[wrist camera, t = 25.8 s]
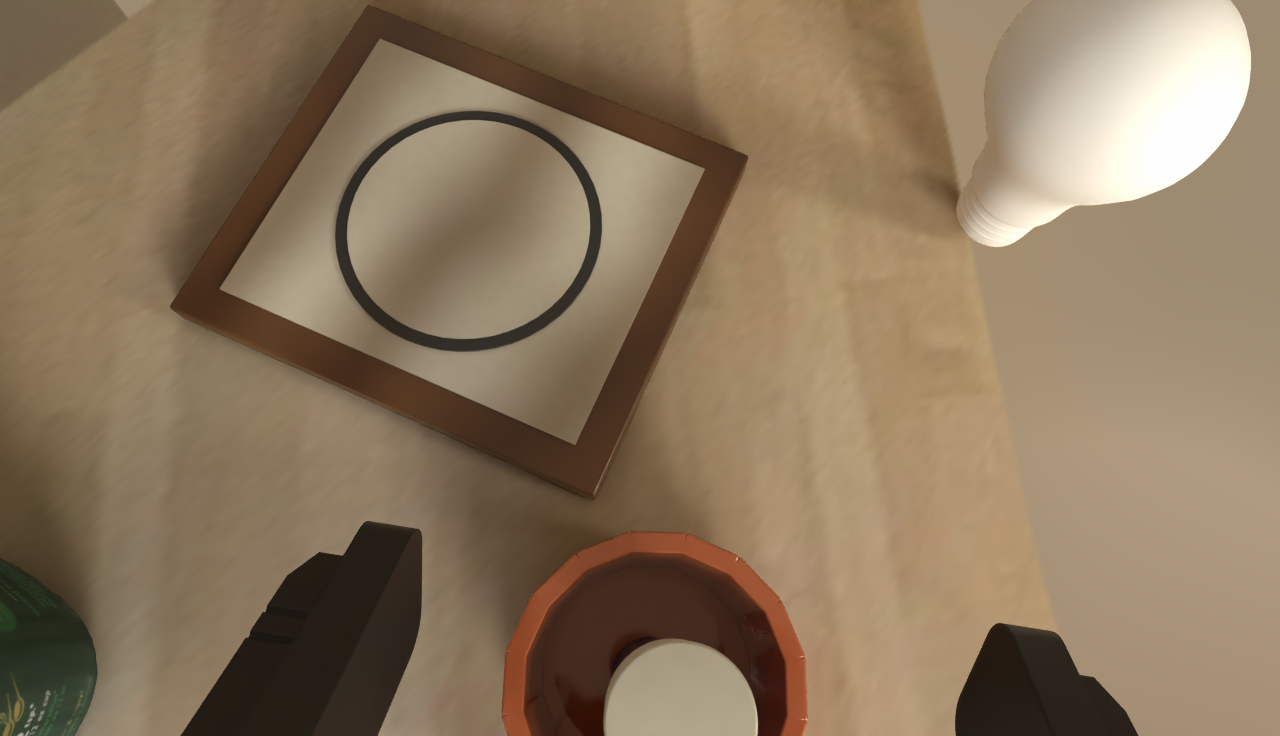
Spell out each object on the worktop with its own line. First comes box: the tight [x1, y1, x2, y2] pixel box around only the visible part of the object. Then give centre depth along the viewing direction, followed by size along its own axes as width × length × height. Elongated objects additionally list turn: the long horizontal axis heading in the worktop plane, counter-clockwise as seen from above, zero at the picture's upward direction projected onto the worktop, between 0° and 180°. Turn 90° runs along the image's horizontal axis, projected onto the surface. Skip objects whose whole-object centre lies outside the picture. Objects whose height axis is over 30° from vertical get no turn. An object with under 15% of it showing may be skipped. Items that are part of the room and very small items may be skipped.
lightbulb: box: [956, 0, 1251, 247], centre depth 24 cm, size 6×6×11 cm
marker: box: [603, 637, 758, 736], centre depth 19 cm, size 2×2×12 cm
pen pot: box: [502, 531, 808, 736], centre depth 22 cm, size 7×7×6 cm
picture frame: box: [170, 5, 748, 500], centre depth 28 cm, size 15×13×1 cm
